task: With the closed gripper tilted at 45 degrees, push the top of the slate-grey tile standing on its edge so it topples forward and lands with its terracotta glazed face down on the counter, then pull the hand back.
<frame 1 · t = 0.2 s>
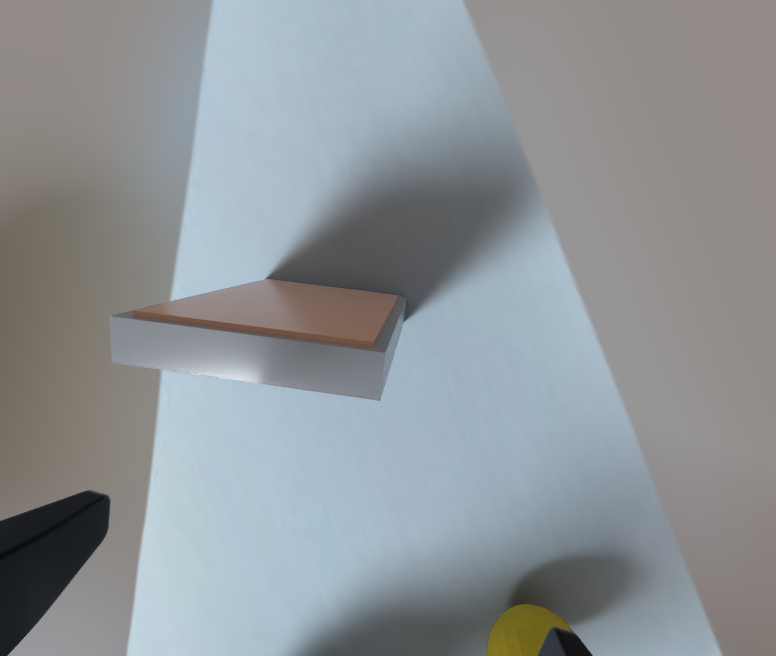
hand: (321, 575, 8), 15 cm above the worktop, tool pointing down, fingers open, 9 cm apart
tile: (333, 300, 22), on the worktop
lemon: (522, 606, 25), on the worktop
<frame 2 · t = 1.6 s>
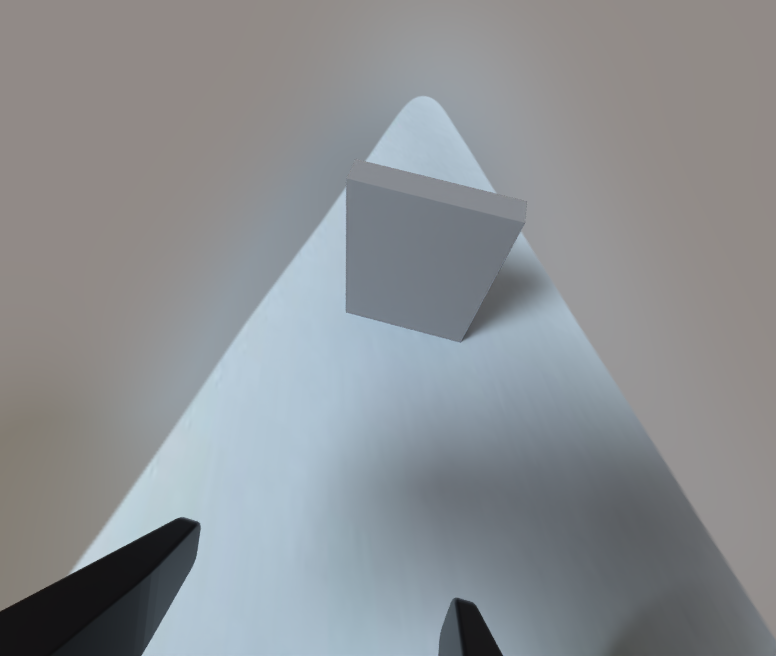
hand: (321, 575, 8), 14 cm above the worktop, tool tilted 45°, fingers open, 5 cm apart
tile: (405, 318, 27), on the worktop
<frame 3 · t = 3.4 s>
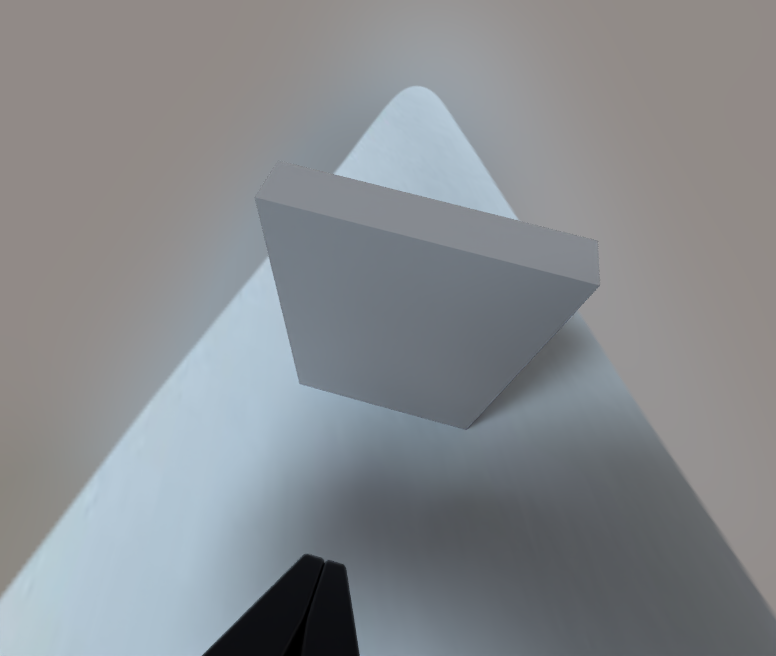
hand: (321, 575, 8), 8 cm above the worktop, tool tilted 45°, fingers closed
tile: (385, 392, 19), on the worktop
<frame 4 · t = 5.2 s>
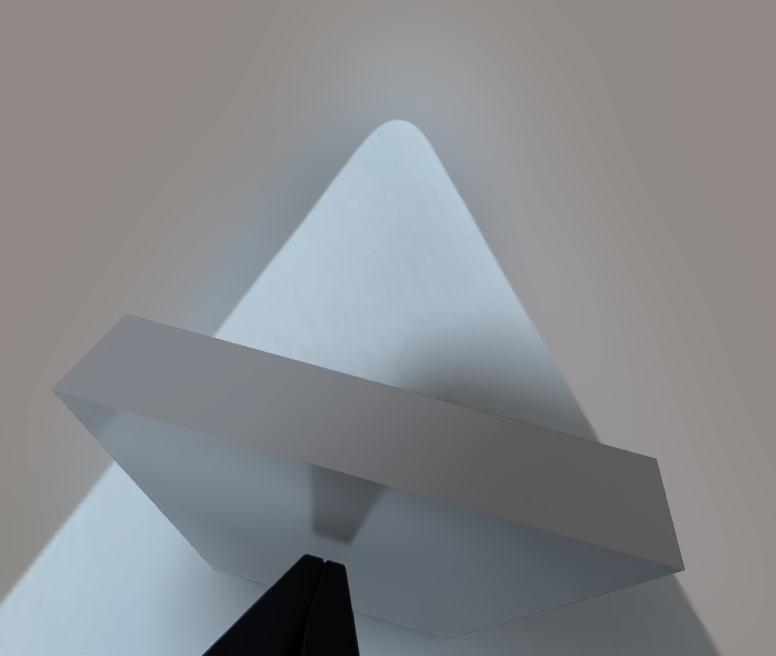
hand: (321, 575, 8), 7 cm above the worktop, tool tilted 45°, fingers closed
tile: (335, 579, 13), on the worktop, tilted 11°
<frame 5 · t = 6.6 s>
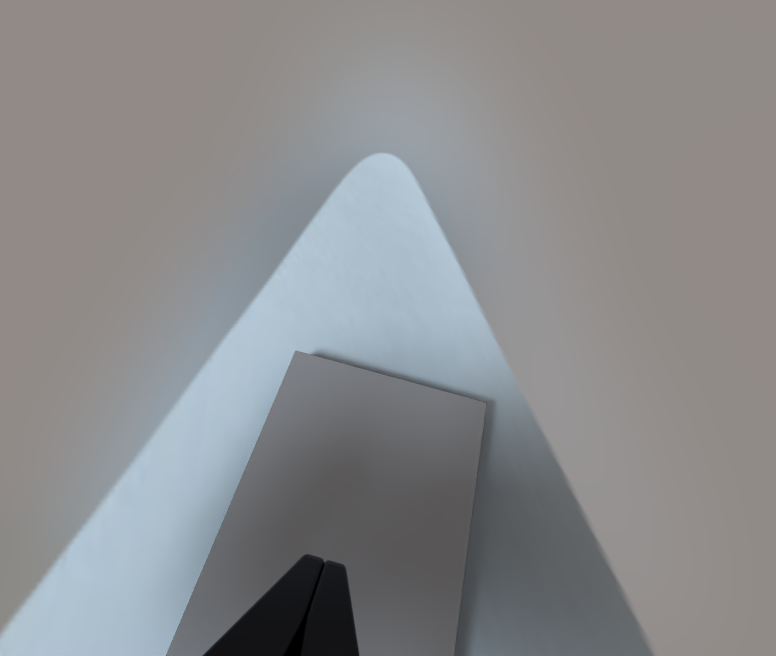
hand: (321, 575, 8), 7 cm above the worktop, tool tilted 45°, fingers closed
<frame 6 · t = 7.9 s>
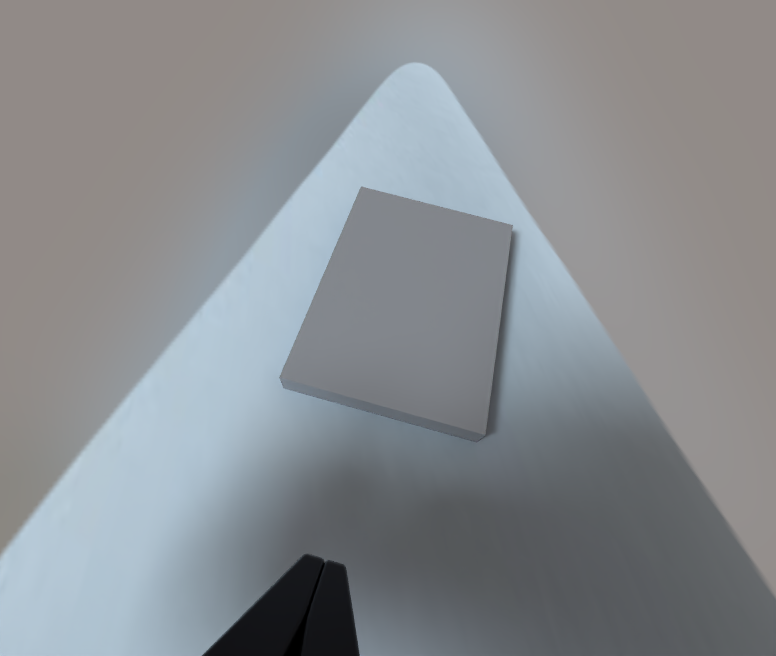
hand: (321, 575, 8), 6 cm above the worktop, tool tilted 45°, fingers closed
tile: (379, 411, 15), on the worktop, tilted 90°
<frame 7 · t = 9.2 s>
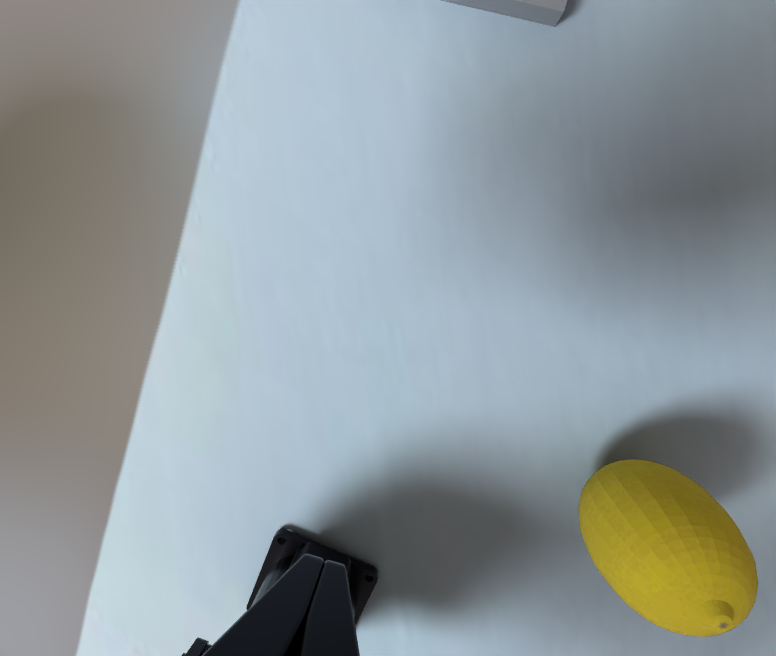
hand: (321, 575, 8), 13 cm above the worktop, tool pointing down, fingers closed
lemon: (610, 476, 21), on the worktop
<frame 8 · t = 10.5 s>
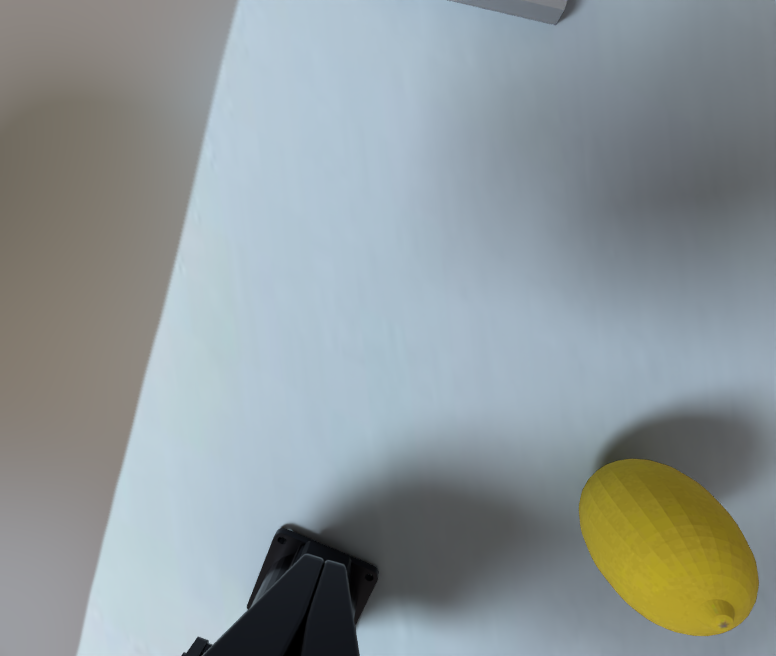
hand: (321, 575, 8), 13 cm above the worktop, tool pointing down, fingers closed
lemon: (611, 475, 21), on the worktop
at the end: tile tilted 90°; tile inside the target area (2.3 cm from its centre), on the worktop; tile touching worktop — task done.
